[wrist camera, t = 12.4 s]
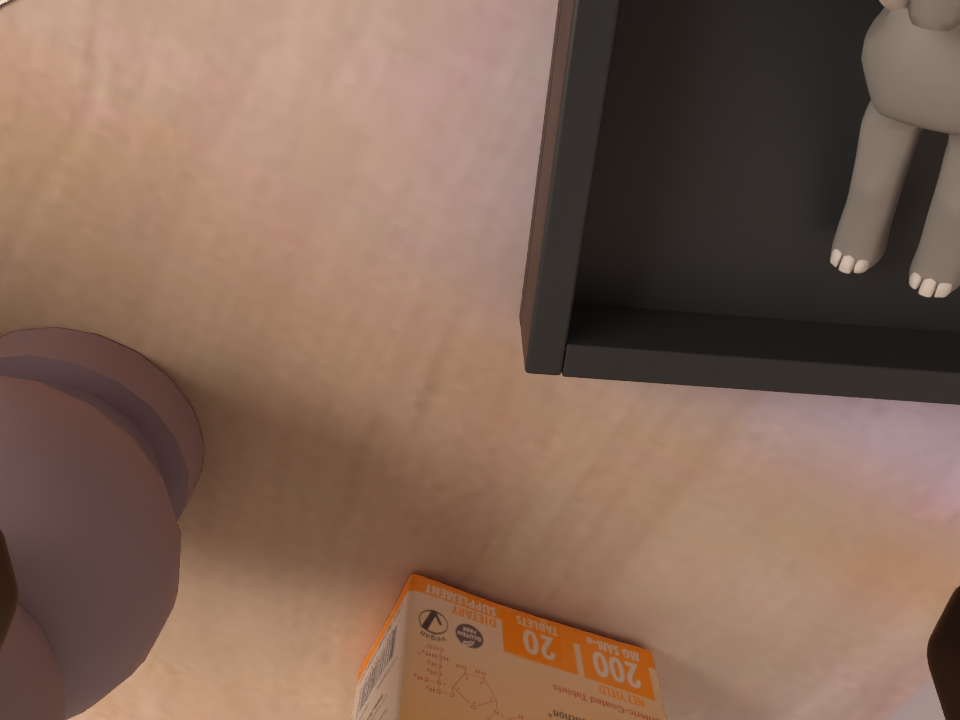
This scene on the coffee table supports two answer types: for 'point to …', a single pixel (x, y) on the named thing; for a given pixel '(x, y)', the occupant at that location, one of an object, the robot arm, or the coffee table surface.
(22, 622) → the cat figurine
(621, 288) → the tray
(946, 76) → the elephant figurine
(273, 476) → the coffee table surface
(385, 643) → the supplement box
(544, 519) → the coffee table surface
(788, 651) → the coffee table surface
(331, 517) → the coffee table surface
